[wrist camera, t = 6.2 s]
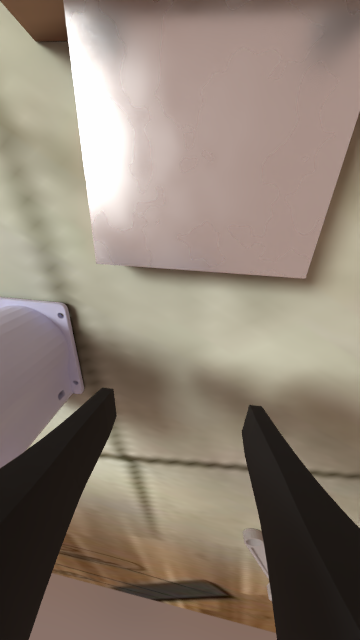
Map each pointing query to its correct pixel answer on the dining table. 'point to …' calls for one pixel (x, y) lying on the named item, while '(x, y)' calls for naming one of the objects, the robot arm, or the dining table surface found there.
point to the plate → (213, 127)
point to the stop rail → (40, 18)
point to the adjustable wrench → (257, 550)
